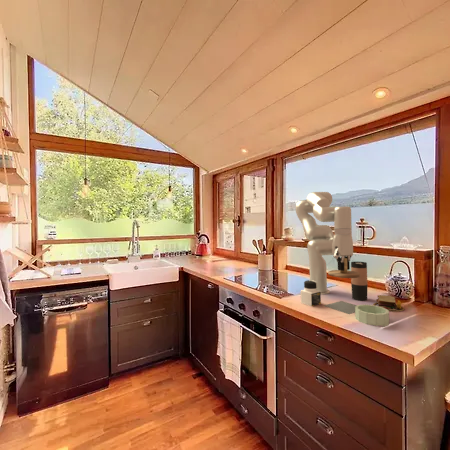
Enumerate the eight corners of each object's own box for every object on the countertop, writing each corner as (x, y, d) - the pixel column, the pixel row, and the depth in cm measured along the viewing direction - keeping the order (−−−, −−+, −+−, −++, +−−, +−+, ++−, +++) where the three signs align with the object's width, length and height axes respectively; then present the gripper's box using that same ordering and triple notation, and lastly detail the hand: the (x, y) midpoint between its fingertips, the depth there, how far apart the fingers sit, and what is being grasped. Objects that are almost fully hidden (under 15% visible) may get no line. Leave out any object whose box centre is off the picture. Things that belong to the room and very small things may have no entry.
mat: (323, 306, 124) (323, 305, 124) (341, 301, 130) (341, 300, 130) (349, 315, 111) (349, 314, 111) (367, 309, 118) (367, 308, 118)
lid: (322, 274, 124) (321, 258, 124) (340, 270, 131) (340, 255, 130) (347, 279, 111) (347, 261, 111) (366, 275, 118) (366, 258, 118)
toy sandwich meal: (371, 310, 118) (371, 300, 118) (374, 302, 129) (374, 293, 129) (404, 315, 110) (403, 304, 110) (404, 307, 121) (404, 297, 121)
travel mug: (354, 296, 138) (353, 261, 138) (369, 299, 133) (368, 262, 133) (349, 300, 133) (348, 262, 133) (365, 303, 128) (364, 264, 128)
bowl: (349, 319, 107) (349, 307, 107) (366, 313, 113) (366, 302, 113) (378, 329, 96) (377, 316, 96) (395, 322, 102) (394, 310, 102)
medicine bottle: (311, 307, 123) (311, 283, 123) (300, 303, 129) (299, 280, 129) (321, 304, 127) (320, 281, 127) (309, 301, 133) (309, 278, 133)
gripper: (346, 231, 128) (347, 266, 128) (325, 232, 120) (325, 270, 120) (360, 231, 121) (361, 269, 122) (338, 233, 114) (339, 273, 114)
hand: (343, 269), depth 121 cm, fingers closed on lid, 3 cm apart
